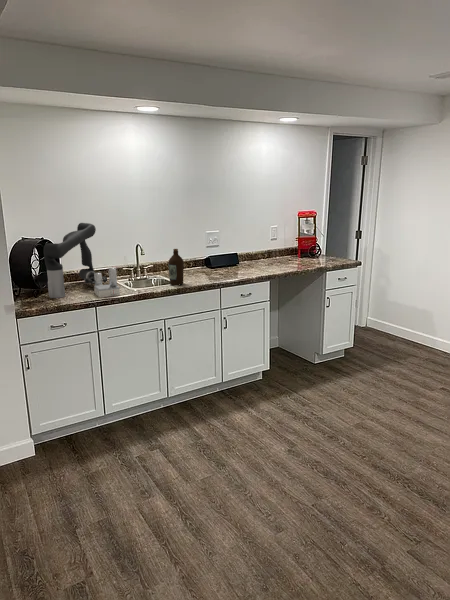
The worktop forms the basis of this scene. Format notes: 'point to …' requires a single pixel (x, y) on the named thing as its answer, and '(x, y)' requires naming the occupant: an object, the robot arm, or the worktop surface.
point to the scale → (106, 290)
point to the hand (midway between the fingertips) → (98, 281)
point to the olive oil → (176, 268)
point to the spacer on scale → (112, 277)
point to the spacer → (98, 279)
